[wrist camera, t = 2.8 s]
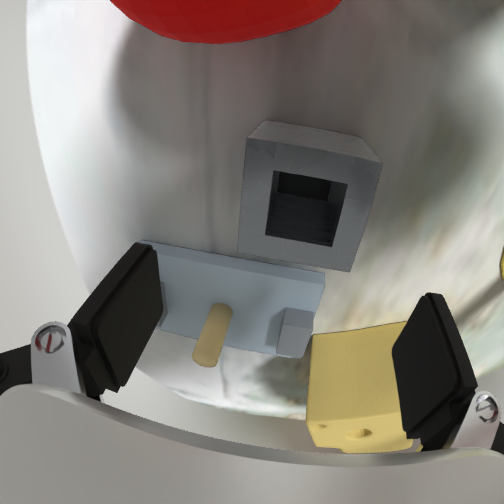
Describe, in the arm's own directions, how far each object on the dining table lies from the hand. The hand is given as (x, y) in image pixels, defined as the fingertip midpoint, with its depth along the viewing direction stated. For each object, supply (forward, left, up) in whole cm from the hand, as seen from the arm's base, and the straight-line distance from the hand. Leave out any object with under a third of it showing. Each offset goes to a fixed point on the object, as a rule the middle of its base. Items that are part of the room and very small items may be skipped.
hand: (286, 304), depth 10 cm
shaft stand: (+5, +12, -12) cm, 18 cm away
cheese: (-10, +17, -12) cm, 24 cm away
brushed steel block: (0, -1, -12) cm, 12 cm away
